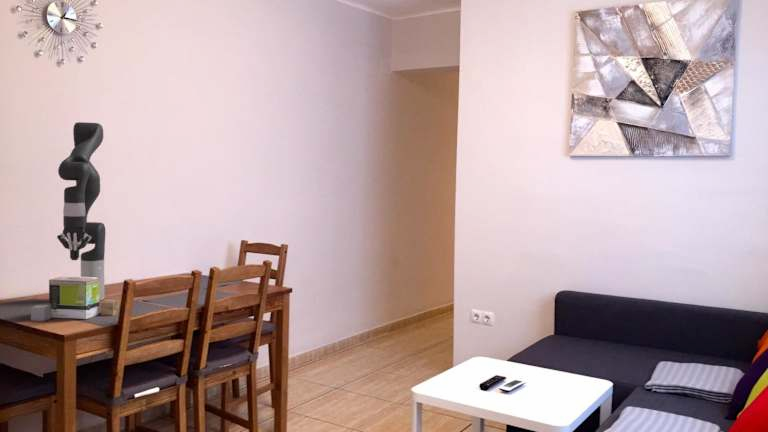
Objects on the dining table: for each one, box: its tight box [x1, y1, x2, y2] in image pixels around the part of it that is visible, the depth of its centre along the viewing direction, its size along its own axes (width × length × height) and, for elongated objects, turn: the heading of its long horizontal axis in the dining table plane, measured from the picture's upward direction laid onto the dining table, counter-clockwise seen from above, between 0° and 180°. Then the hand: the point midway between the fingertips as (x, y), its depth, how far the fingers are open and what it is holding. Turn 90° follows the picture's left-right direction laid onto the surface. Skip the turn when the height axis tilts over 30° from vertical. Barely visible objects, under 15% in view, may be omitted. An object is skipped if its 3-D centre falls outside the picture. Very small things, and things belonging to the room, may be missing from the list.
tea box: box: [48, 275, 101, 320], centre depth 250 cm, size 15×10×15 cm, turn 84°
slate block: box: [30, 303, 53, 322], centre depth 244 cm, size 5×5×5 cm
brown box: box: [100, 299, 120, 316], centre depth 256 cm, size 5×5×5 cm
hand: (74, 259), depth 249 cm, fingers closed
